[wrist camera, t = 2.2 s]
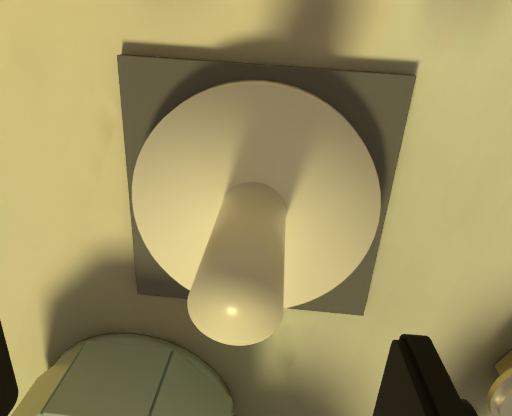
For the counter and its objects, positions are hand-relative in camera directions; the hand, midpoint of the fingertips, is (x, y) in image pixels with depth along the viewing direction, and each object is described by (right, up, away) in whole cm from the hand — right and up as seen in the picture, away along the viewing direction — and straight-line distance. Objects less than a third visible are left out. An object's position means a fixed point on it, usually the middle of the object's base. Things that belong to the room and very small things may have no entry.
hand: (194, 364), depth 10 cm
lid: (+1, +4, +7) cm, 9 cm away
